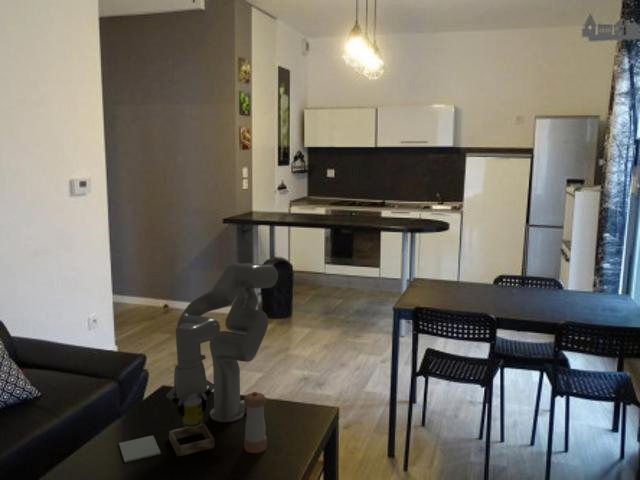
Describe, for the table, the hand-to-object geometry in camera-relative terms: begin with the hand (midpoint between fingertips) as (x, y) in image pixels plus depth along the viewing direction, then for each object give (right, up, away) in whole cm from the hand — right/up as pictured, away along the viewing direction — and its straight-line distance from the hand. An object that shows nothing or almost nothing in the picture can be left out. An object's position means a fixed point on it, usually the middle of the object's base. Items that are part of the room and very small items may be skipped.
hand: (192, 411), depth 181 cm
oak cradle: (0, -11, +1) cm, 11 cm away
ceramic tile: (-16, -11, -3) cm, 20 cm away
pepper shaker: (+21, -11, -1) cm, 24 cm away
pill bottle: (0, -4, +1) cm, 4 cm away
